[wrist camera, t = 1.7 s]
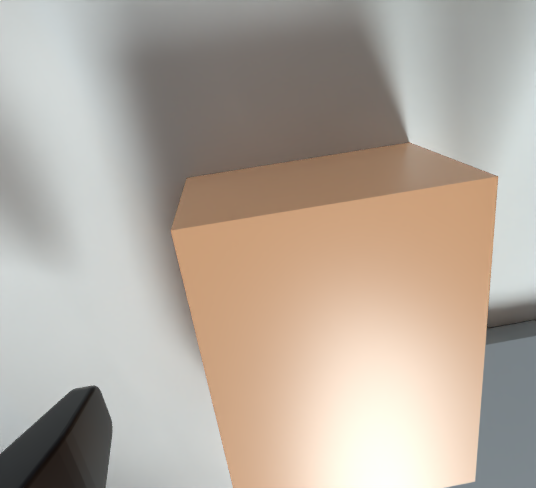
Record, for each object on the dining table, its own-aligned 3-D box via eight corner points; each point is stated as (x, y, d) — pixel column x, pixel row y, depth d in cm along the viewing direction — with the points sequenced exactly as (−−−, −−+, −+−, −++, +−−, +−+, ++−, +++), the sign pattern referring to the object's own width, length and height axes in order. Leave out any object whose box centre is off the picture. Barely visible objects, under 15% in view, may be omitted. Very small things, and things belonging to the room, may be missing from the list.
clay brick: (404, 140, 9) (498, 176, 6) (407, 372, 12) (474, 481, 9) (187, 175, 9) (170, 230, 6) (236, 404, 12) (242, 527, 8)
